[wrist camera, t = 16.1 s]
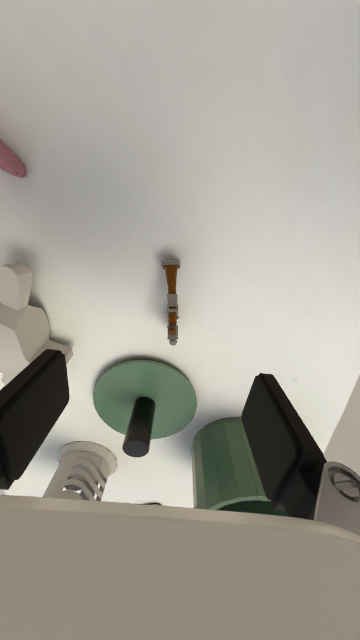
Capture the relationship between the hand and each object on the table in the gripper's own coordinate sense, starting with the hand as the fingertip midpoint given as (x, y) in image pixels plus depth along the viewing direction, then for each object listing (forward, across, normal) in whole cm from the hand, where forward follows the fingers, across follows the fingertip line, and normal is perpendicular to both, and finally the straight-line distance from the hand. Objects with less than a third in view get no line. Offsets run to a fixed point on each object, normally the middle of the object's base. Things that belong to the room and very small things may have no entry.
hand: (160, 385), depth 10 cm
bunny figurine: (+14, +16, +5) cm, 21 cm away
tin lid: (+13, +2, +15) cm, 19 cm away
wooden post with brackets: (+14, 0, 0) cm, 14 cm away
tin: (+13, -12, +22) cm, 29 cm away
